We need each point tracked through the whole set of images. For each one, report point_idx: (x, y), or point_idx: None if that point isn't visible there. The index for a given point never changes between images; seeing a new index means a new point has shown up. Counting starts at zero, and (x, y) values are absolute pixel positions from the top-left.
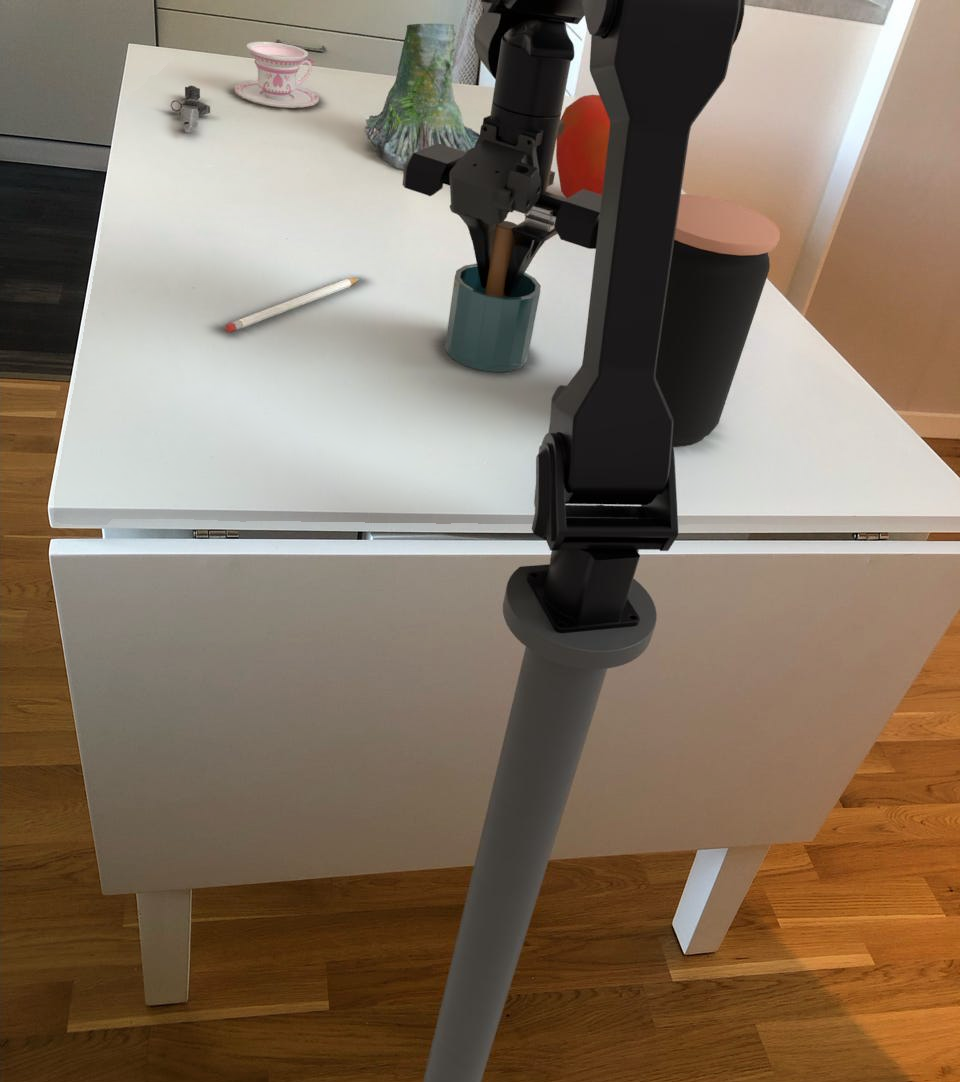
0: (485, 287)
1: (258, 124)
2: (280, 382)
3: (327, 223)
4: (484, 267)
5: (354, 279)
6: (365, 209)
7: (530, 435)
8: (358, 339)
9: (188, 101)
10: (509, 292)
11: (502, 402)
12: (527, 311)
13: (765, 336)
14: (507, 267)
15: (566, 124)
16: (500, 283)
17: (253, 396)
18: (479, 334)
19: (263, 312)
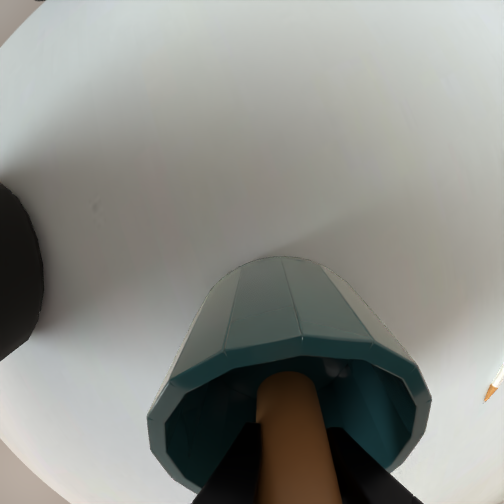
0: (327, 428)
1: (493, 499)
2: (491, 59)
3: (486, 460)
4: (354, 470)
5: (489, 395)
6: (451, 496)
7: (111, 75)
8: (482, 242)
9: None
10: (241, 430)
11: (181, 148)
12: (164, 379)
13: (50, 473)
14: (263, 496)
15: None
16: (277, 443)
17: (485, 22)
18: (289, 279)
19: None
